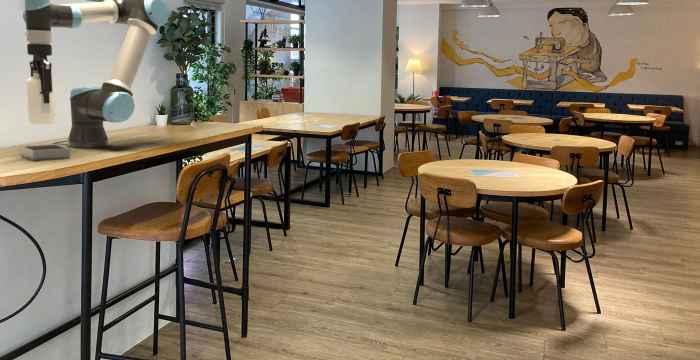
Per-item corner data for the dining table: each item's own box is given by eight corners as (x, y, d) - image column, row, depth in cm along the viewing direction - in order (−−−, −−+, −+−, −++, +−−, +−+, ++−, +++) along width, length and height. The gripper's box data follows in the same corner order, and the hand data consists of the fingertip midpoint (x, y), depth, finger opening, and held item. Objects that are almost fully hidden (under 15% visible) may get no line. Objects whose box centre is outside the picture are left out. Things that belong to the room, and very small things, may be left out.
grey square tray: (56, 153, 230) (56, 144, 230) (69, 158, 222) (69, 148, 221) (21, 156, 222) (20, 146, 221) (33, 161, 214) (33, 151, 213)
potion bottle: (36, 121, 224) (33, 69, 221) (59, 122, 224) (57, 70, 221) (24, 123, 216) (21, 70, 213) (48, 124, 216) (45, 71, 213)
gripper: (18, 42, 218) (22, 110, 223) (37, 43, 206) (41, 114, 210) (41, 43, 224) (44, 109, 228) (61, 44, 211) (64, 114, 215)
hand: (42, 112), depth 219 cm, fingers open, 5 cm apart
